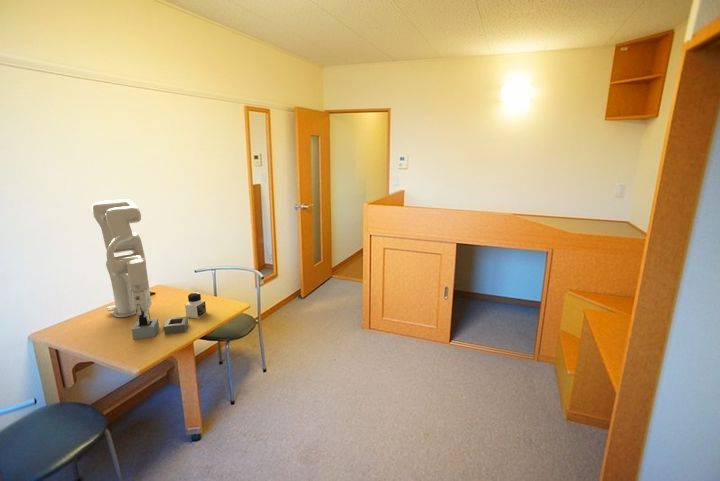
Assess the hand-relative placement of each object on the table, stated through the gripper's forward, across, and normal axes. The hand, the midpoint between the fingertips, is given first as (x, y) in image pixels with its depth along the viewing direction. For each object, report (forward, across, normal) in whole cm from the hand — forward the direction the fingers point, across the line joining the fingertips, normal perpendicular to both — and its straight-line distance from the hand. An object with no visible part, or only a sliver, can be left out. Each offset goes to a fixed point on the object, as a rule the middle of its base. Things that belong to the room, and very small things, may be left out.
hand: (145, 322), depth 172 cm
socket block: (+6, 0, 0) cm, 6 cm away
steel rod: (+6, 0, 0) cm, 6 cm away
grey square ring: (+6, +1, -13) cm, 14 cm away
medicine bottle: (+6, +15, -20) cm, 26 cm away
